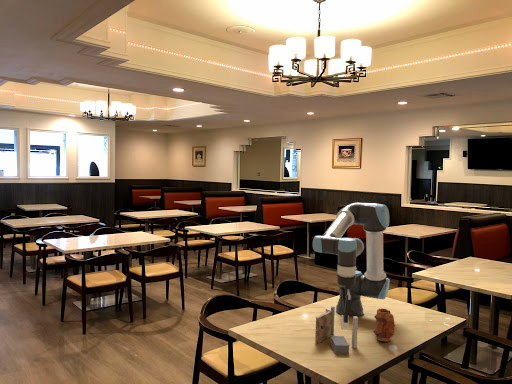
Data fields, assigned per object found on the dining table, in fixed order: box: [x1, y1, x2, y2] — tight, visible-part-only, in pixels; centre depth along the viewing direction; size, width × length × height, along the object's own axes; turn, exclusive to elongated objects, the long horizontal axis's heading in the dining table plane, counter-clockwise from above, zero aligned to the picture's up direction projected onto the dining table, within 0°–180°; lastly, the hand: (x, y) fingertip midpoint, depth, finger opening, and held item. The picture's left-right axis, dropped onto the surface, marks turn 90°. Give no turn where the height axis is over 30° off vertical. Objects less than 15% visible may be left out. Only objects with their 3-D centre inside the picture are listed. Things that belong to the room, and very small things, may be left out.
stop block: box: [330, 335, 350, 355], centre depth 187 cm, size 10×6×4 cm, turn 2°
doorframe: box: [325, 306, 359, 349], centre depth 196 cm, size 20×2×14 cm, turn 31°
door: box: [314, 311, 332, 344], centre depth 195 cm, size 12×3×12 cm, turn 138°
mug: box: [372, 308, 396, 342], centre depth 195 cm, size 15×8×15 cm, turn 5°
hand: (344, 328), depth 177 cm, fingers closed
